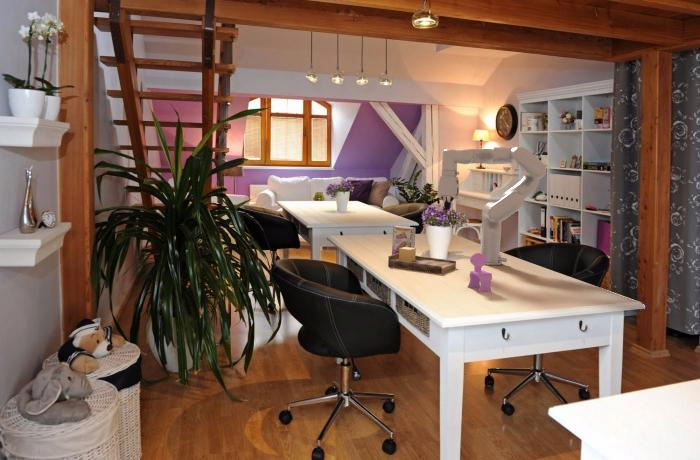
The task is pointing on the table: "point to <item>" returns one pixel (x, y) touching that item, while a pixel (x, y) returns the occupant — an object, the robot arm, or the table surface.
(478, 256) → the toy chair
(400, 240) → the candy bar box
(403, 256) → the block
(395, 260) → the brown wooden tray
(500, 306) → the table surface
